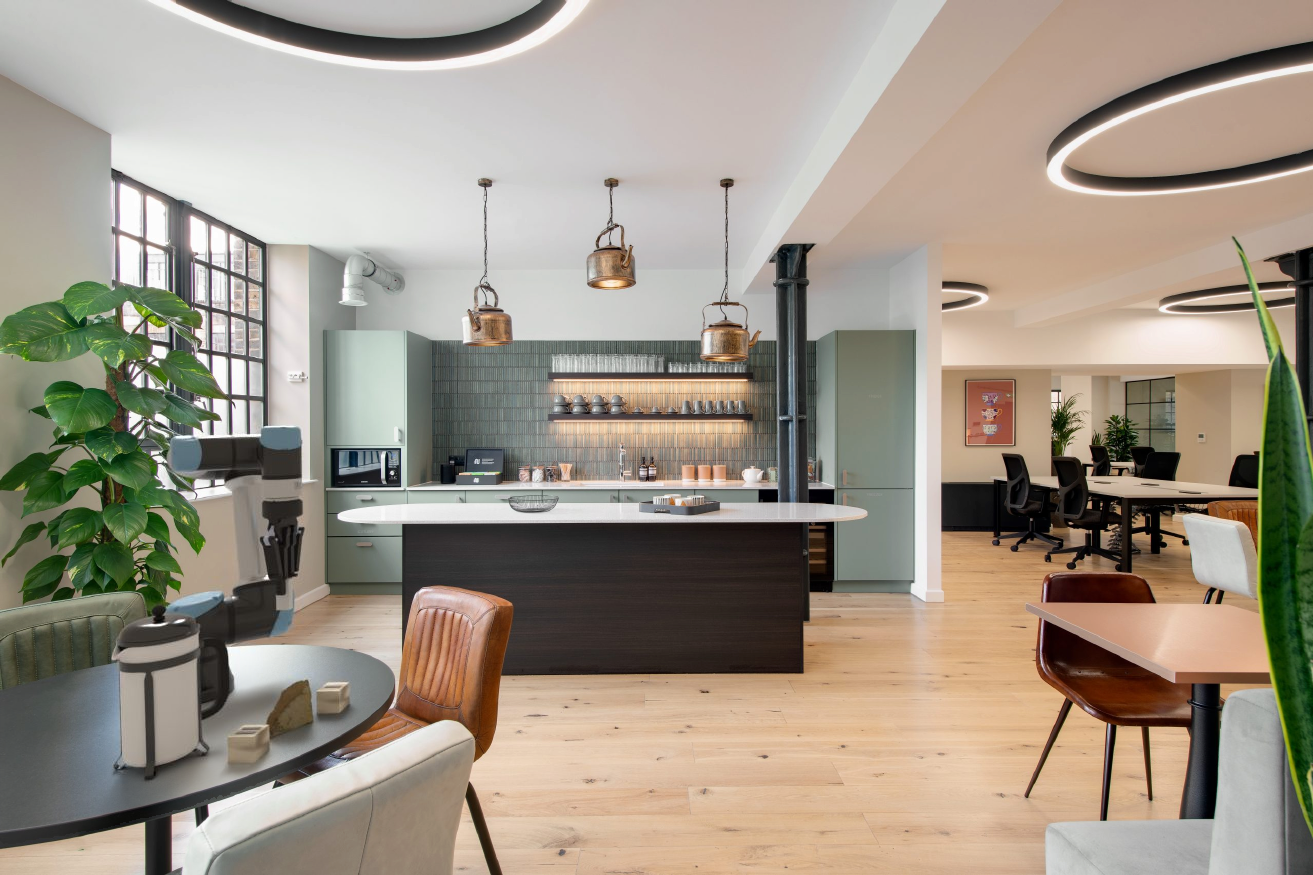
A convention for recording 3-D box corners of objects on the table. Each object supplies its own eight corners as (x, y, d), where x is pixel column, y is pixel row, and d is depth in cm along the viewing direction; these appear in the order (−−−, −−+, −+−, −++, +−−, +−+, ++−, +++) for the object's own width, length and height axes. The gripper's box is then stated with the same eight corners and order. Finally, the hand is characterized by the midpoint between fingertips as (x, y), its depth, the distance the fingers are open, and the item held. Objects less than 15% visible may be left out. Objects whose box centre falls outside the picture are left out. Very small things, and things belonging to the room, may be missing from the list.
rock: (260, 735, 130) (316, 716, 135) (253, 694, 133) (308, 676, 139) (265, 748, 138) (317, 729, 143) (258, 709, 141) (309, 692, 147)
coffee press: (199, 773, 120) (195, 611, 119) (94, 788, 115) (90, 619, 115) (231, 731, 136) (228, 588, 136) (141, 742, 132) (137, 595, 131)
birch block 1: (244, 750, 129) (243, 724, 129) (269, 749, 129) (269, 724, 129) (227, 763, 124) (227, 736, 124) (254, 762, 124) (253, 736, 124)
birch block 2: (327, 704, 150) (327, 682, 150) (349, 703, 150) (349, 681, 150) (316, 713, 145) (316, 690, 145) (339, 713, 145) (338, 690, 145)
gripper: (282, 502, 132) (285, 618, 132) (316, 494, 145) (318, 600, 145) (245, 502, 132) (248, 618, 132) (282, 494, 145) (284, 600, 145)
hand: (284, 608), depth 139 cm, fingers closed
